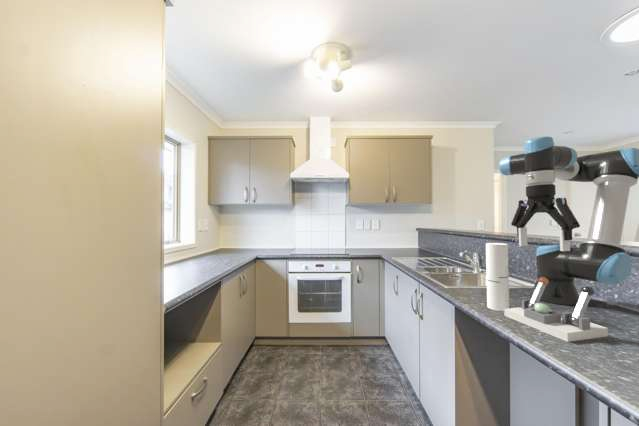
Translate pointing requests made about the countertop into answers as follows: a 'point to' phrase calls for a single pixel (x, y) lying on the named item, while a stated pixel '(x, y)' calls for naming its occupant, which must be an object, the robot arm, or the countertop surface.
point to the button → (541, 308)
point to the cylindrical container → (497, 276)
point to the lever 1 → (537, 292)
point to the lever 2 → (581, 306)
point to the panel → (556, 323)
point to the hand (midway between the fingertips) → (542, 248)
